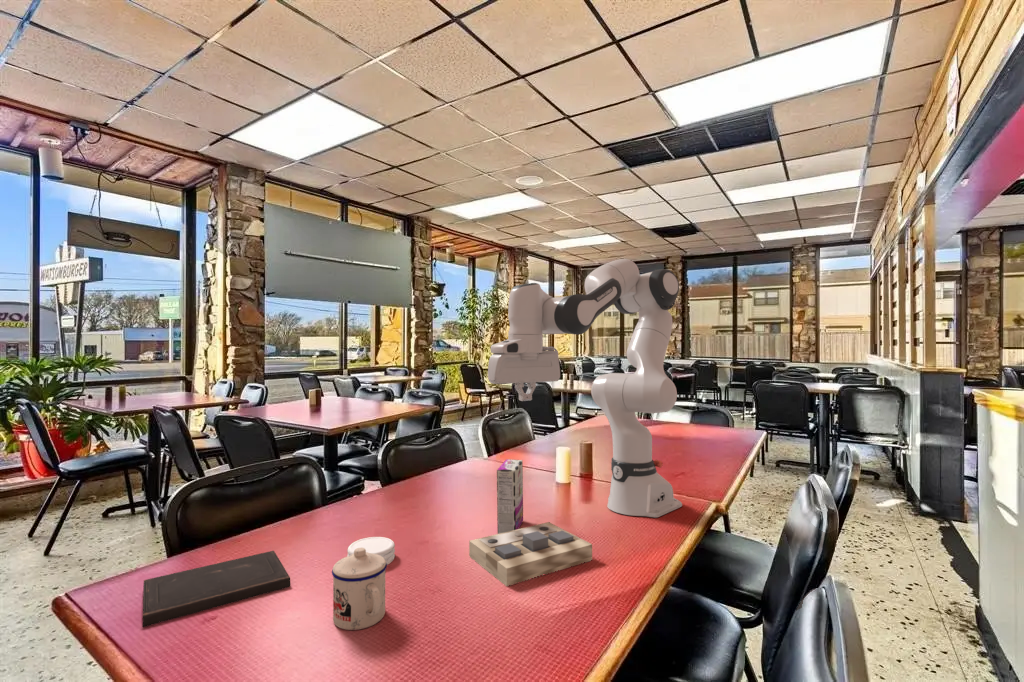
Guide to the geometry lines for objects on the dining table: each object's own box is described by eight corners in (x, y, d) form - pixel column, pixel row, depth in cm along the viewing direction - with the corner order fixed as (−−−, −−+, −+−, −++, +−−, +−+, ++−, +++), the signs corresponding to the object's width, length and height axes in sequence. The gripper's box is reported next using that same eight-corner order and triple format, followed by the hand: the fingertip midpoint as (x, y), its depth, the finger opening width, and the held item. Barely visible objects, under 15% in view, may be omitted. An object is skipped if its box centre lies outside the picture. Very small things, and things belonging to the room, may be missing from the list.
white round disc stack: (403, 554, 110) (403, 539, 110) (377, 574, 101) (377, 557, 101) (366, 548, 113) (366, 533, 113) (337, 566, 104) (337, 550, 104)
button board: (548, 536, 120) (548, 520, 120) (592, 560, 107) (592, 542, 107) (469, 556, 109) (469, 539, 109) (506, 586, 95) (506, 566, 95)
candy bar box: (505, 519, 132) (505, 458, 132) (523, 520, 131) (523, 459, 131) (495, 535, 121) (496, 468, 121) (515, 536, 120) (515, 469, 120)
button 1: (511, 557, 105) (511, 543, 105) (521, 564, 102) (521, 549, 102) (495, 561, 103) (495, 547, 103) (504, 568, 100) (504, 554, 100)
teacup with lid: (323, 615, 85) (324, 548, 85) (373, 597, 91) (373, 535, 91) (350, 647, 76) (351, 572, 76) (403, 625, 82) (404, 556, 82)
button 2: (562, 543, 113) (562, 530, 113) (573, 549, 109) (573, 536, 109) (548, 547, 110) (548, 534, 110) (559, 553, 107) (559, 539, 107)
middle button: (537, 544, 109) (537, 531, 109) (548, 550, 105) (548, 537, 105) (522, 548, 107) (522, 534, 107) (533, 555, 103) (533, 541, 103)
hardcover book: (143, 591, 94) (143, 580, 94) (273, 560, 108) (273, 550, 108) (142, 631, 81) (142, 617, 81) (290, 589, 95) (290, 577, 95)
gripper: (550, 346, 133) (550, 397, 132) (484, 346, 122) (484, 401, 122) (565, 346, 127) (565, 399, 127) (497, 346, 116) (497, 404, 116)
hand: (525, 400), depth 124 cm, fingers closed
